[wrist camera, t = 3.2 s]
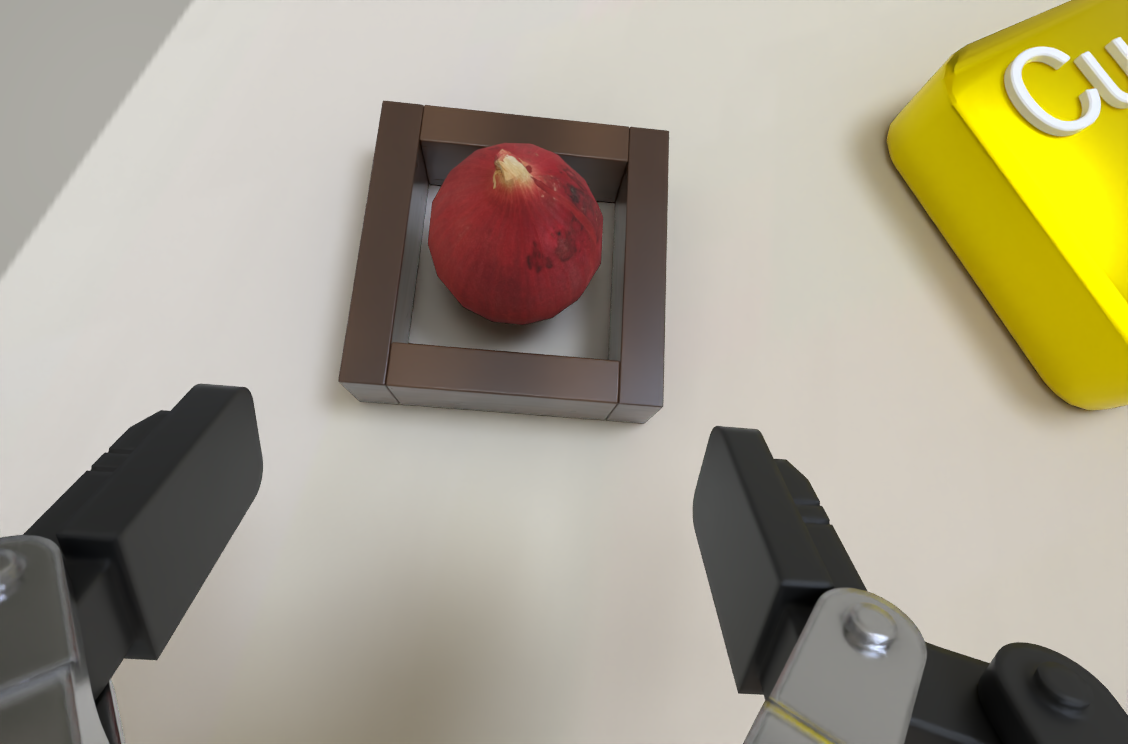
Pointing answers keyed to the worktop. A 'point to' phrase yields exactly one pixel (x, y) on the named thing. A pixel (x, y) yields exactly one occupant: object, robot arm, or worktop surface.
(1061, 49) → the element tile
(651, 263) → the tray
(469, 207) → the onion
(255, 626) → the worktop surface
